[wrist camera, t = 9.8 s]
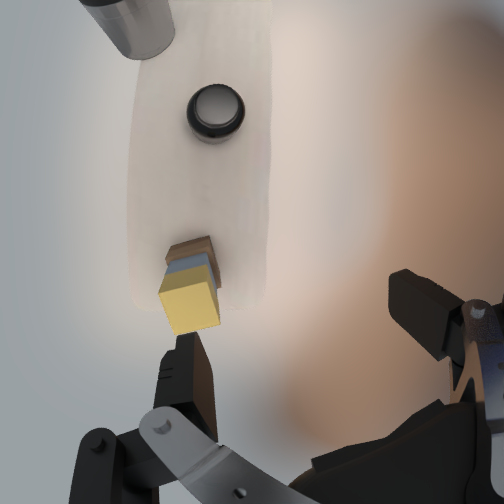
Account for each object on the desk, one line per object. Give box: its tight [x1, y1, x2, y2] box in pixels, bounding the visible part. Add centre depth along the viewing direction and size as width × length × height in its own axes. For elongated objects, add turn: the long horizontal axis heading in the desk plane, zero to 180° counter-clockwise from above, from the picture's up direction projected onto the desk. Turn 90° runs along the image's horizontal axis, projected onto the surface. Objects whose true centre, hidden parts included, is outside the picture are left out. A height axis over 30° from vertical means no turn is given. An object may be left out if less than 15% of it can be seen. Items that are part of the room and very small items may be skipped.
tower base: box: [165, 236, 221, 289], centre depth 39 cm, size 6×6×6 cm
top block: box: [158, 264, 220, 335], centre depth 29 cm, size 5×5×5 cm
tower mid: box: [165, 252, 217, 296], centre depth 34 cm, size 5×5×5 cm
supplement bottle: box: [187, 84, 245, 144], centre depth 31 cm, size 7×7×12 cm
